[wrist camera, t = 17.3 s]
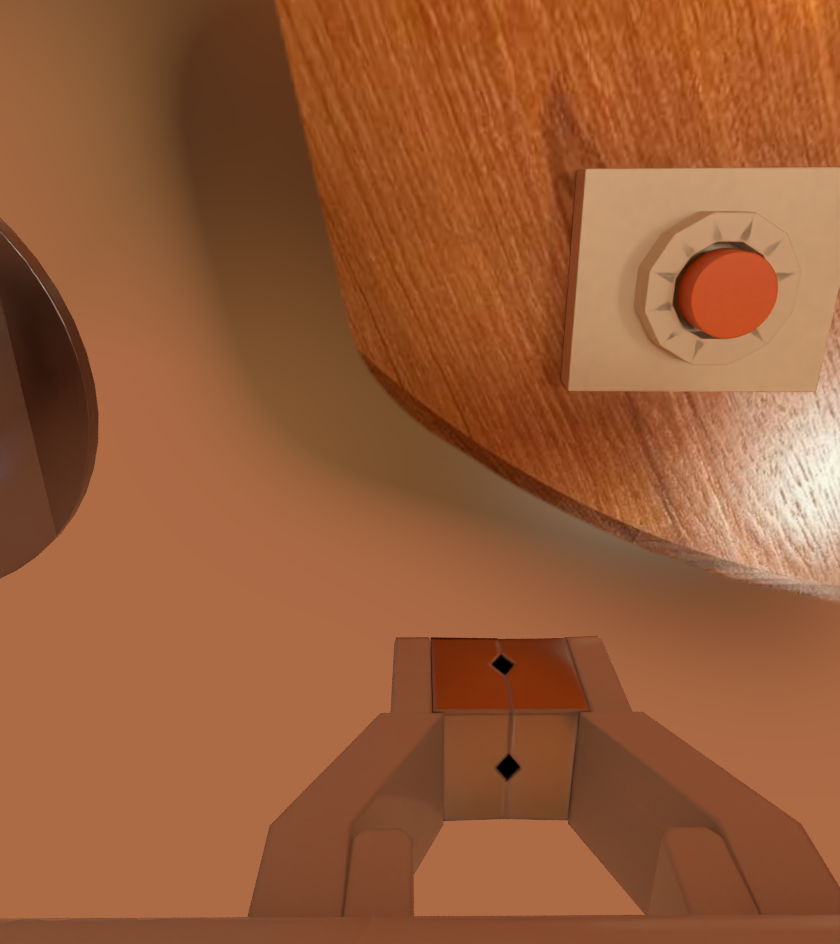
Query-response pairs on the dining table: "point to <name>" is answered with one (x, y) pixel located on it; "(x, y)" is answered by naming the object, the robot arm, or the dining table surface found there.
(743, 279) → the button
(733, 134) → the dining table surface
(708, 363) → the button box
